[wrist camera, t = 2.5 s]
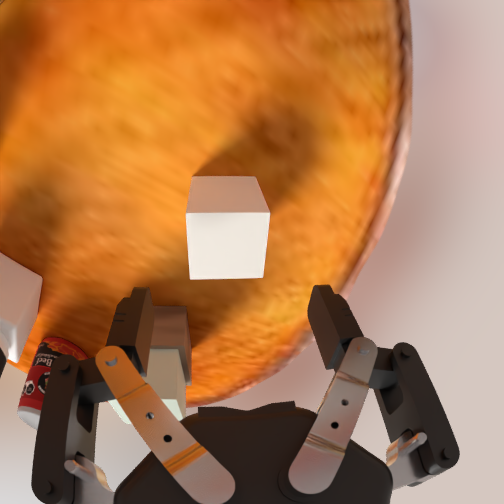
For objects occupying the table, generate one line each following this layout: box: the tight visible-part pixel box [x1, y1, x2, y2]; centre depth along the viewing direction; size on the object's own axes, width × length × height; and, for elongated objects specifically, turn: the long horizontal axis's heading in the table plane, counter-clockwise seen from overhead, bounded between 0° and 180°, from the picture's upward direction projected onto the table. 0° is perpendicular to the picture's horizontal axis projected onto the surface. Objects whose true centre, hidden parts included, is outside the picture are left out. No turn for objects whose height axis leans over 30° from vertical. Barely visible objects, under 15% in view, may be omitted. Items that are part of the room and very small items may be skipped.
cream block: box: [186, 176, 270, 279], centre depth 19 cm, size 5×5×6 cm
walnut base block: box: [150, 306, 192, 385], centre depth 27 cm, size 7×7×5 cm
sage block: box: [108, 349, 186, 424], centre depth 23 cm, size 6×6×5 cm
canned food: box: [17, 337, 88, 430], centre depth 25 cm, size 8×8×11 cm
